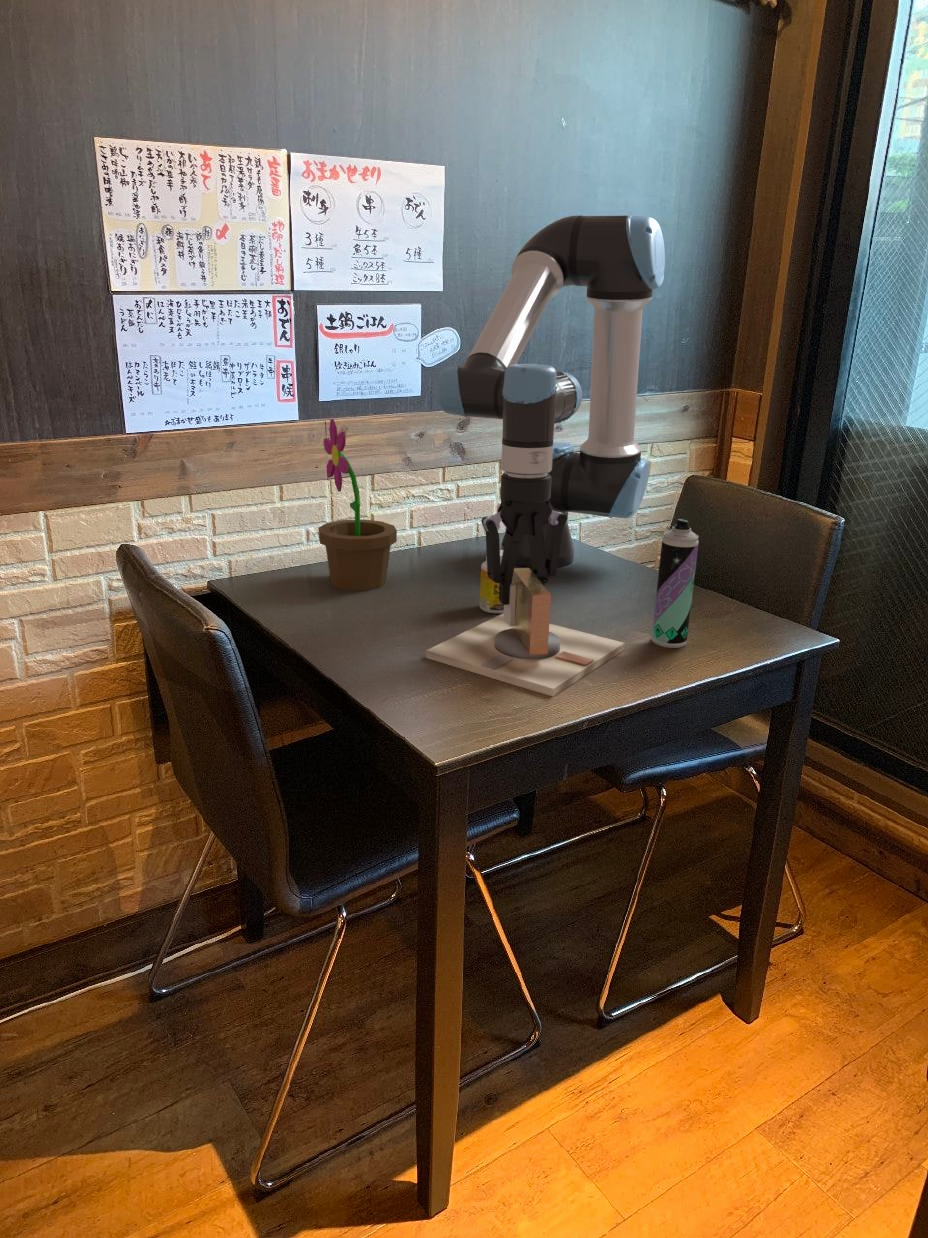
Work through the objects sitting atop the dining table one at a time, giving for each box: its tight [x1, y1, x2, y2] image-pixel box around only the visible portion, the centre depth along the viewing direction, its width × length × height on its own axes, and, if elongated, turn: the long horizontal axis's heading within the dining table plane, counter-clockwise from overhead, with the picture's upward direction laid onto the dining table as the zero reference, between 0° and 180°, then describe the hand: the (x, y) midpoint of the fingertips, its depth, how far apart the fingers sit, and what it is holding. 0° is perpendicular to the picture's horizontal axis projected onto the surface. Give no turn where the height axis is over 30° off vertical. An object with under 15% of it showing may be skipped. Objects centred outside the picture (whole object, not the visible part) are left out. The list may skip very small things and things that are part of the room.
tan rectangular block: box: [512, 567, 552, 655], centre depth 140 cm, size 13×3×9 cm, turn 10°
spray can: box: [651, 518, 699, 649], centre depth 145 cm, size 6×6×20 cm
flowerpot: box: [318, 418, 398, 592], centre depth 168 cm, size 14×14×30 cm
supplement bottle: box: [479, 550, 504, 615], centre depth 159 cm, size 6×6×10 cm
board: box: [425, 613, 626, 698], centre depth 142 cm, size 22×22×2 cm
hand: (520, 621), depth 145 cm, fingers closed on tan rectangular block, 3 cm apart
